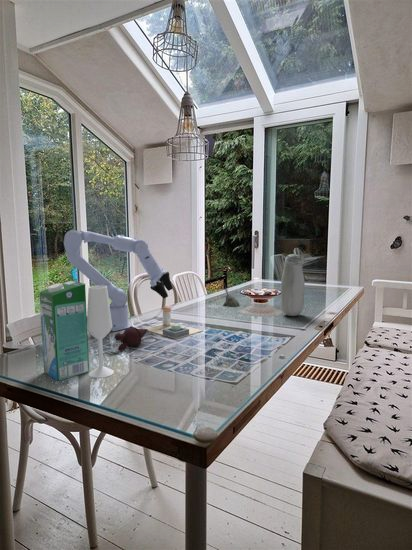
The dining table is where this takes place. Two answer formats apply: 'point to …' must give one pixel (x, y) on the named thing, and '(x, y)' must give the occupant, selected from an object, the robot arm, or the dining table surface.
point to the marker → (166, 316)
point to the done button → (175, 327)
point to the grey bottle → (292, 286)
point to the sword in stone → (230, 300)
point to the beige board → (159, 328)
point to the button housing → (175, 334)
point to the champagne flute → (99, 324)
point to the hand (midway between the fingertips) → (168, 293)
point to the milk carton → (64, 330)
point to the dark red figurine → (130, 337)
